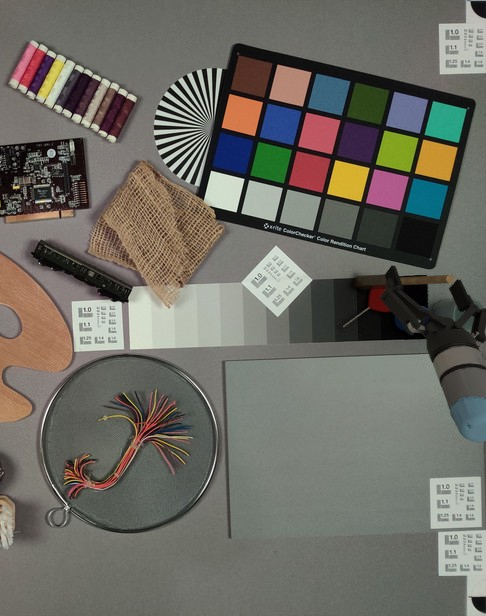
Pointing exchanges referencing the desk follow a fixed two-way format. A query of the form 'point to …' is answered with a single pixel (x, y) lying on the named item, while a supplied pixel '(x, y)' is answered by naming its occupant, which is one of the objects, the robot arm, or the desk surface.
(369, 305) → the lollipop
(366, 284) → the block
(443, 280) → the stick
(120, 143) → the desk surface
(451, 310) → the cup
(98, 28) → the desk surface
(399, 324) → the bowl
